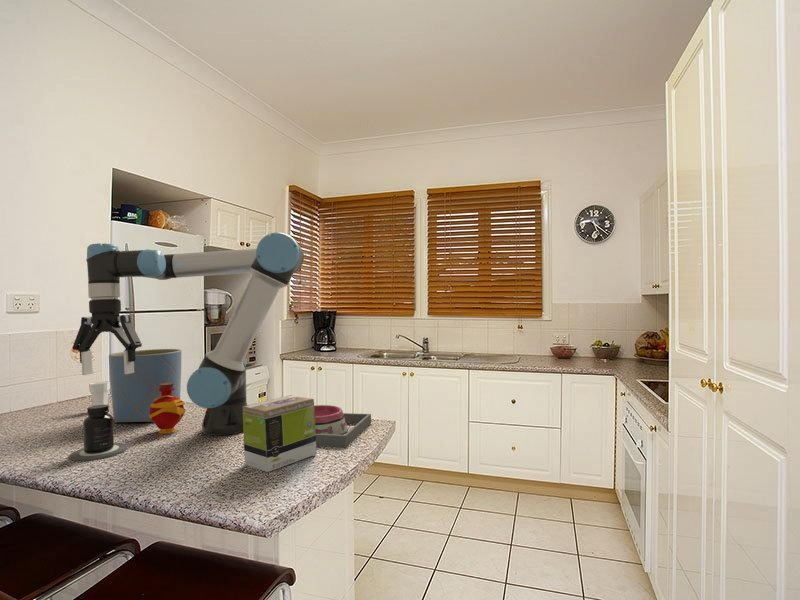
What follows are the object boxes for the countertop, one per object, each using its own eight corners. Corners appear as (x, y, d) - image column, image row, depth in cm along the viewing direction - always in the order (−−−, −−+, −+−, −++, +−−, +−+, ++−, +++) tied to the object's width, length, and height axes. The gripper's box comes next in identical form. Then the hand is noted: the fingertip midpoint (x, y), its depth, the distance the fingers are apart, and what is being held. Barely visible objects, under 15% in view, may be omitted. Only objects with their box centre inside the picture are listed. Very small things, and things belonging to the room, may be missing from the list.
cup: (113, 410, 174) (113, 381, 174) (94, 414, 168) (94, 384, 168) (105, 408, 177) (104, 380, 177) (86, 412, 172) (85, 383, 172)
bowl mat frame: (371, 423, 145) (370, 413, 145) (346, 446, 121) (345, 435, 121) (302, 420, 150) (301, 411, 150) (265, 443, 127) (265, 432, 127)
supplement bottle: (79, 451, 121) (78, 407, 121) (107, 444, 127) (106, 402, 127) (89, 456, 117) (88, 410, 117) (118, 449, 123) (117, 405, 123)
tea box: (293, 448, 121) (291, 393, 122) (317, 455, 115) (315, 398, 115) (243, 464, 110) (241, 404, 110) (266, 473, 103) (265, 409, 104)
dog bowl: (360, 429, 139) (359, 407, 139) (317, 445, 124) (317, 421, 124) (317, 421, 150) (316, 401, 150) (273, 436, 134) (272, 413, 134)
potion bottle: (144, 437, 135) (143, 388, 135) (153, 428, 145) (152, 382, 145) (182, 434, 138) (181, 385, 138) (189, 425, 148) (187, 380, 148)
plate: (138, 446, 127) (138, 443, 127) (98, 462, 114) (98, 459, 114) (100, 444, 130) (100, 441, 130) (57, 459, 117) (57, 457, 117)
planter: (136, 410, 173) (135, 349, 173) (194, 409, 172) (193, 348, 172) (94, 426, 150) (92, 356, 150) (160, 425, 149) (158, 355, 149)
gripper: (153, 296, 128) (157, 370, 128) (78, 301, 132) (81, 372, 132) (133, 296, 121) (137, 375, 120) (54, 301, 125) (58, 377, 125)
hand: (108, 374), depth 126 cm, fingers open, 13 cm apart
